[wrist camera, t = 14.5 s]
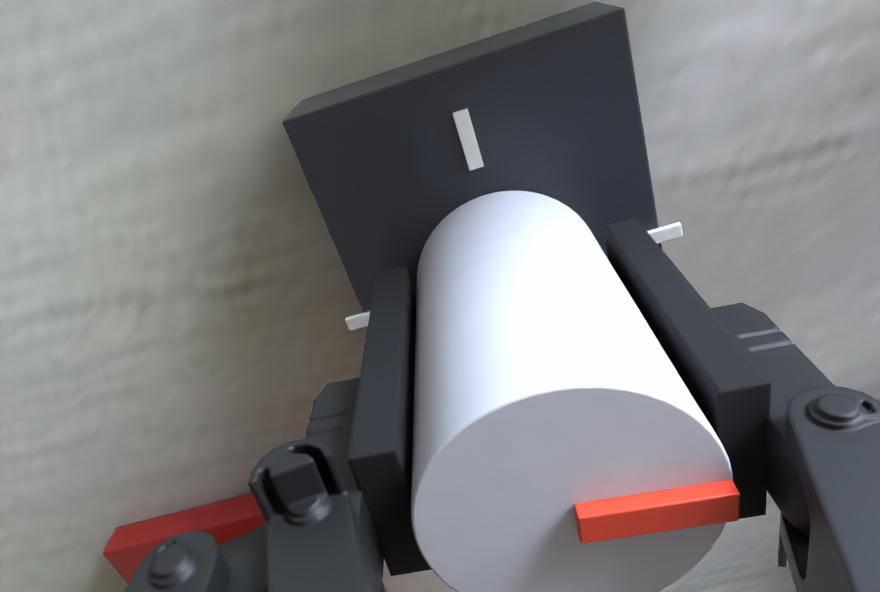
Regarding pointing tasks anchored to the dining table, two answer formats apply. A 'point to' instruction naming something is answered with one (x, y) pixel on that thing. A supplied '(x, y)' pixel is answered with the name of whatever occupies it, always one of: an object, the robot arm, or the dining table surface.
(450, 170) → the dial panel
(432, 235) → the knob
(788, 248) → the dining table surface
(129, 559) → the red lever stand
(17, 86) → the dining table surface
